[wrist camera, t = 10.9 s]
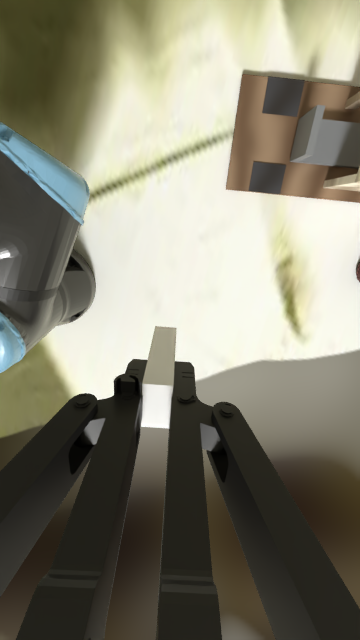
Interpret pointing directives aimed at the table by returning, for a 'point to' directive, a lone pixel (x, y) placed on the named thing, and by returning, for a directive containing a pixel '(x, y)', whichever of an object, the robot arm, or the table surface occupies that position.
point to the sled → (326, 141)
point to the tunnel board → (288, 138)
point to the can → (358, 272)
